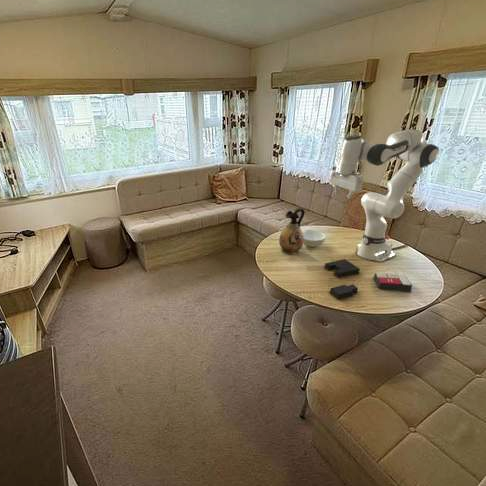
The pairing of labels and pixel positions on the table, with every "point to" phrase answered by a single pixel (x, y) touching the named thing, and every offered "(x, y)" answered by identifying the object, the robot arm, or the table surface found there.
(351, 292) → the pad
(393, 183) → the robot arm
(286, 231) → the ceramic jug
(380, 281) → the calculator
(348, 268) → the pad
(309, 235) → the cereal bowl
